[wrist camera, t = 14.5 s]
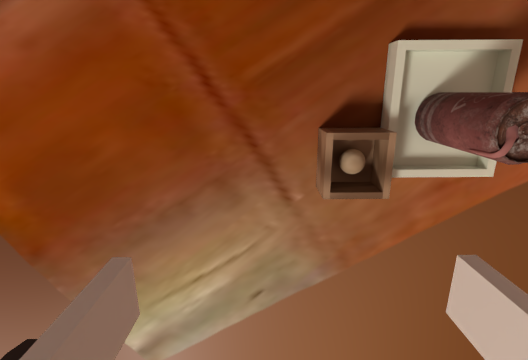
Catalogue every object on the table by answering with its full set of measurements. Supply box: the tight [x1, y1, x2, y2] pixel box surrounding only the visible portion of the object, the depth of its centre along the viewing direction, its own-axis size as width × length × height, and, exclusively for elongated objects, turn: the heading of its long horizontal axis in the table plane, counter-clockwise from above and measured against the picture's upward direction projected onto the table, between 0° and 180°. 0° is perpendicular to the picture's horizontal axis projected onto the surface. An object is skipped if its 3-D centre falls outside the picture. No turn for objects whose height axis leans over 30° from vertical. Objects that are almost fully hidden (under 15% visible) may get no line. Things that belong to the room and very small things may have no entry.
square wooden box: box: [316, 127, 397, 199], centre depth 38 cm, size 8×8×5 cm
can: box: [415, 92, 528, 164], centre depth 31 cm, size 6×6×14 cm
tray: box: [380, 39, 523, 177], centre depth 37 cm, size 16×14×3 cm
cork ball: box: [339, 149, 365, 174], centre depth 38 cm, size 3×3×3 cm
